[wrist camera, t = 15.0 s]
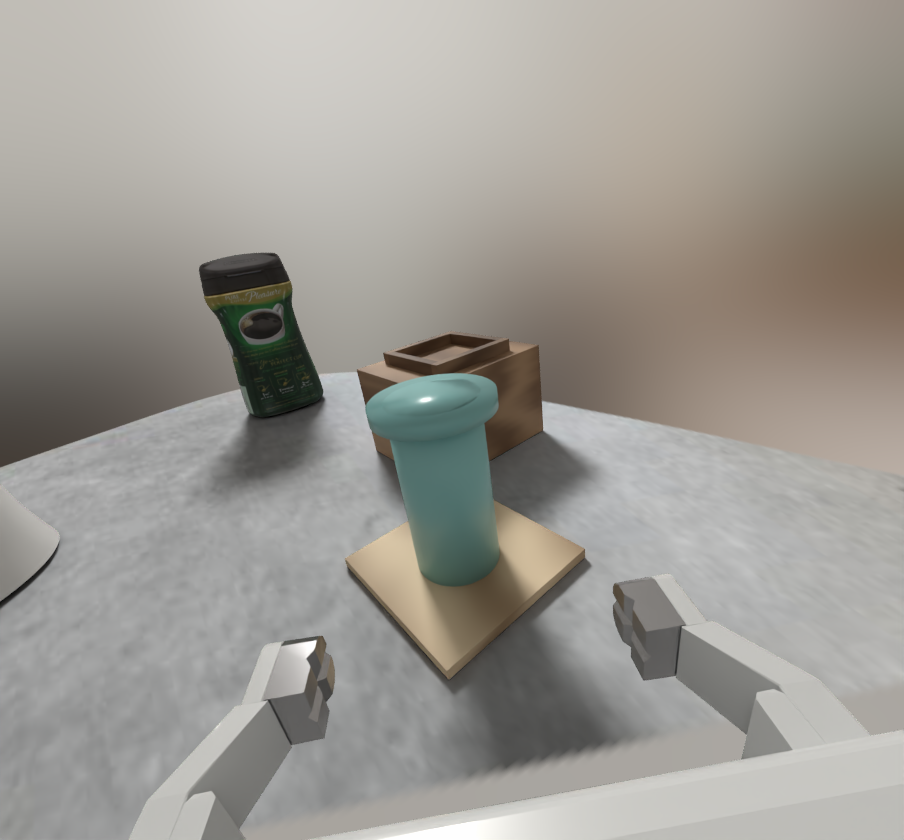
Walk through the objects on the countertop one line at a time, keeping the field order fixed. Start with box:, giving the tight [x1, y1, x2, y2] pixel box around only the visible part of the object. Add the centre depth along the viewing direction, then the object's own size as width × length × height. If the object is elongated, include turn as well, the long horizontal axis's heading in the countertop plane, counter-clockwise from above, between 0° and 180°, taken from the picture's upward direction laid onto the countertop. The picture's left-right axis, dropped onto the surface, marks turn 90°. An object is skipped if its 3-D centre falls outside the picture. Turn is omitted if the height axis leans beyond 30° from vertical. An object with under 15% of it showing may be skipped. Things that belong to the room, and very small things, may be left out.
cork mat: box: [345, 500, 585, 680], centre depth 25 cm, size 10×10×1 cm
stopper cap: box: [366, 373, 500, 587], centre depth 22 cm, size 6×6×10 cm
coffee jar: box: [199, 253, 323, 417], centre depth 51 cm, size 10×8×19 cm
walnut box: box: [357, 331, 543, 461], centre depth 37 cm, size 12×10×9 cm
